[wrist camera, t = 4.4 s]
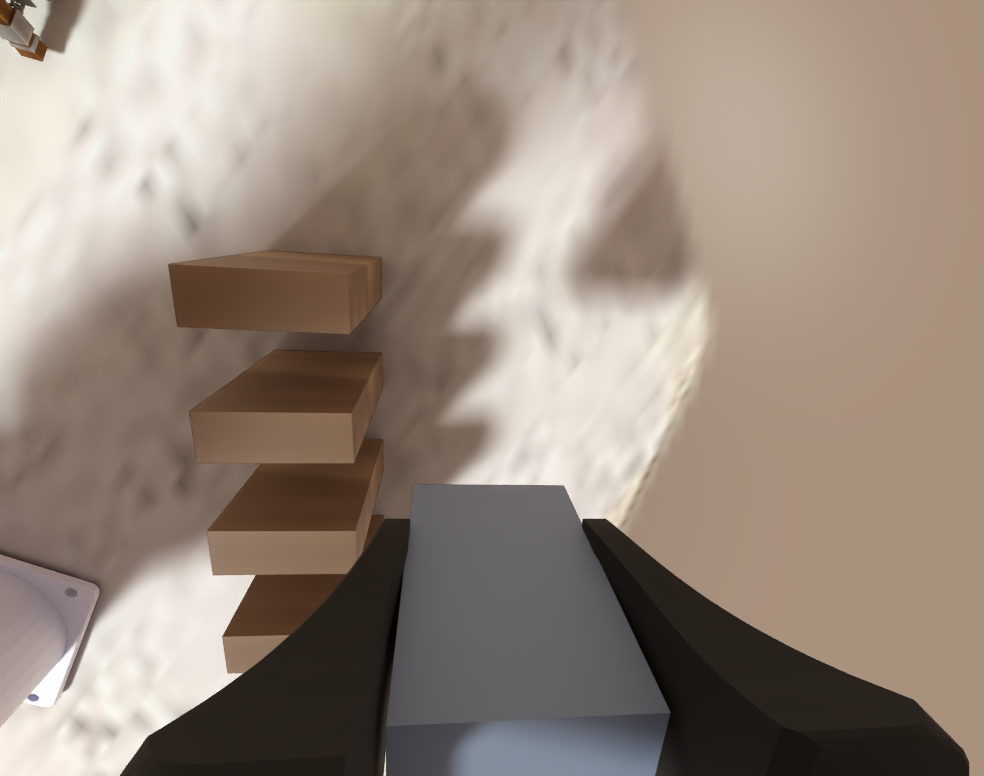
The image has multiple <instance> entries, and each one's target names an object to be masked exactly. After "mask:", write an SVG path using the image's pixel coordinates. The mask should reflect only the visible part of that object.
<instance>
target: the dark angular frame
mask: <svg viewBox="0 0 984 776" xmlns="http://www.w3.org/2000/svg"><path fill="white" fill-rule="evenodd" d="M10 1H11V3H7V2H6V0H0V37H1V38H2V39H5V40H8V41H9V43H10V45H11V46H12V47H15V48H16V49H17V51H18V52H19V53H20V54H21V56H25V57H28V58H32V59H35V60H39V61H42V62H43V59H44V56H45V53H46V50H47V48H48V47H47V46H46V45H45V44H44V43H43V42H42V41H41V40H40V37H39V36H38V35H36V34H34V33H33V30H34V28H33V27H32V25H31V24H30V23H29V22H28V21H27V20H26V19H25V17H24V16H23V10H24V8H25V5H27V6H31V7H35V8H37V7H36V6H35V5H34V3H33V2H32V1H31V0H15V1H16V2H17V3H20V4H21V5H19V4H17V3H15V2H14V0H10ZM48 1H51V2H54V3H55V1H56V0H48ZM12 6H13V7H14V8H13V7H12ZM18 7H19V8H18ZM19 11H20V12H19Z"/></svg>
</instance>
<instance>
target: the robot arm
mask: <svg viewBox="0 0 984 776" xmlns="http://www.w3.org/2000/svg"><path fill="white" fill-rule="evenodd" d="M410 521H411V519H385V520H384V521H383V522H382V523H381V524H380V526H379V528H378V530H377V531H376V533H375V535H374V536H373V538H372V540H371V541H370V543H369V544H368V546H367V547H366V549H365V550H364V552H363V553H362V554H361V556H360V557H359V558H358V560H357V561H356V562H355V564H354V565H353V566H352V568H351V569H350V570H349V572H348V573H347V574H346V576H345V577H344V578H343V579H342V580H341V581H340V583H339V584H338V585H337V586H336V587H335V589H334V590H333V591H332V592H331V593H330V594H329V596H328V597H327V598H326V599H325V600H324V601H323V602H322V603H321V604H320V606H319V607H318V608H317V609H316V610H315V611H314V612H313V613H312V614H311V615H310V616H309V617H308V618H307V619H306V620H305V621H304V622H303V623H302V624H301V625H300V626H299V627H298V628H297V629H296V630H295V631H294V632H292V633H291V634H290V635H289V636H288V637H287V638H286V639H285V640H283V641H282V642H281V643H280V644H279V645H278V646H277V647H276V648H275V649H273V650H272V651H271V652H270V653H269V654H267V655H266V656H265V657H264V658H263V659H261V660H260V661H259V662H258V663H257V664H255V665H254V666H253V667H251V668H250V669H249V670H247V671H246V672H245V673H243V674H242V675H241V676H239V677H238V678H237V679H235V680H234V681H233V682H231V683H230V684H229V685H227V686H226V687H224V688H223V689H222V690H220V691H219V692H217V693H216V694H214V695H213V696H211V697H210V698H208V699H207V700H205V701H204V702H202V703H201V704H199V705H198V706H196V707H194V708H193V709H191V710H190V711H188V712H187V713H185V714H183V715H182V716H180V717H179V718H177V719H175V720H174V721H172V722H171V723H169V724H167V725H166V726H164V727H163V728H161V729H159V730H158V731H156V732H154V733H153V734H151V735H149V736H148V737H147V738H146V739H145V741H144V742H143V744H142V745H141V747H140V748H139V750H138V751H137V753H136V754H135V755H134V757H133V758H132V759H131V761H130V762H129V763H128V765H127V766H126V767H125V769H124V770H123V772H122V773H121V775H120V776H383V773H384V763H385V753H386V722H387V713H388V705H389V696H390V687H391V678H392V670H393V661H394V652H395V644H396V635H397V626H398V617H399V609H400V600H401V591H402V582H403V574H404V565H405V561H406V557H407V553H408V544H409V535H410ZM582 528H583V530H584V533H585V535H586V537H587V539H588V541H589V543H590V546H591V548H592V550H593V552H594V554H595V555H596V557H597V559H598V560H599V562H600V564H601V566H602V568H603V570H604V572H605V574H606V576H607V578H608V581H609V583H610V585H611V587H612V589H613V591H614V593H615V596H616V598H617V600H618V602H619V604H620V606H621V608H622V610H623V613H624V615H625V617H626V619H627V621H628V623H629V625H630V627H631V630H632V632H633V634H634V636H635V638H636V640H637V642H638V644H639V647H640V649H641V651H642V653H643V655H644V657H645V659H646V661H647V664H648V666H649V668H650V670H651V672H652V674H653V676H654V679H655V681H656V683H657V685H658V687H659V689H660V691H661V693H662V696H663V698H664V700H665V702H666V704H667V706H668V708H669V710H670V717H669V721H668V725H667V729H666V733H665V737H664V741H663V745H662V749H661V753H660V757H659V761H658V765H657V769H656V773H655V776H969V761H968V759H967V757H966V754H965V752H964V750H963V749H962V748H961V747H960V746H959V745H958V744H957V743H956V742H955V741H954V740H953V739H952V738H951V737H950V736H949V735H948V734H947V733H946V732H945V731H944V730H943V729H942V728H941V727H940V726H939V725H938V724H937V723H936V722H935V721H934V720H933V719H932V718H931V717H930V716H929V715H928V714H927V713H926V712H925V711H924V709H923V708H921V706H920V705H919V704H918V703H917V702H916V701H914V700H913V699H911V698H908V697H905V696H903V695H900V694H898V693H895V692H893V691H890V690H888V689H885V688H883V687H880V686H877V685H875V684H872V683H870V682H867V681H865V680H862V679H860V678H857V677H855V676H852V675H850V674H847V673H845V672H843V671H840V670H838V669H836V668H834V667H831V666H829V665H827V664H825V663H823V662H820V661H818V660H816V659H814V658H812V657H810V656H807V655H806V654H804V653H802V652H799V651H797V650H795V649H793V648H791V647H789V646H787V645H785V644H784V643H782V642H780V641H778V640H776V639H774V638H772V637H771V636H768V635H767V634H765V633H763V632H761V631H759V630H758V629H756V628H754V627H752V626H750V625H749V624H747V623H745V622H744V621H742V620H740V619H739V618H737V617H735V616H734V615H732V614H730V613H729V612H727V611H726V610H724V609H723V608H721V607H719V606H718V605H716V604H715V603H713V602H712V601H710V600H709V599H707V598H705V597H704V596H703V595H701V594H700V593H698V592H697V591H696V590H694V589H693V588H692V587H690V586H688V585H687V584H686V583H685V582H683V581H682V580H681V579H679V578H678V577H676V576H675V575H674V574H673V573H671V572H670V571H669V570H667V569H666V568H665V567H664V566H662V565H661V564H660V563H659V562H657V561H656V560H655V559H653V558H652V557H651V556H650V555H649V554H647V553H646V552H645V551H644V550H643V549H642V548H640V547H639V546H638V545H637V544H636V543H634V542H633V541H632V540H631V539H630V538H628V537H627V536H626V535H625V534H624V533H623V532H621V531H620V530H619V529H618V528H617V527H615V526H614V525H613V524H612V523H610V522H609V521H608V520H606V519H583V522H582ZM72 588H73V589H75V590H76V591H75V590H73V589H72ZM99 593H100V591H99V588H98V587H97V586H96V585H95V584H93V583H90V582H87V581H84V580H81V579H78V578H74V577H71V576H68V575H65V574H62V573H58V572H55V571H52V570H49V569H45V568H42V567H39V566H36V565H33V564H29V563H26V562H23V561H20V560H17V559H13V558H10V557H7V556H4V555H0V727H1V726H2V725H3V724H4V723H5V722H6V721H7V720H8V718H9V717H10V716H11V715H12V714H13V713H14V712H15V710H16V709H17V708H18V707H19V706H20V705H21V704H22V703H23V702H25V703H29V704H33V705H37V706H41V707H50V706H53V705H54V704H55V703H56V702H57V701H58V699H59V698H60V697H61V694H62V691H63V689H64V686H65V684H66V681H67V678H68V676H69V673H70V670H71V668H72V665H73V662H74V660H75V657H76V655H77V652H78V649H79V647H80V644H81V641H82V639H83V636H84V633H85V631H86V628H87V625H88V623H89V620H90V618H91V615H92V612H93V610H94V607H95V604H96V602H97V599H98V596H99Z"/></svg>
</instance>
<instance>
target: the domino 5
mask: <svg viewBox="0 0 984 776" xmlns="http://www.w3.org/2000/svg"><path fill="white" fill-rule="evenodd" d="M410 519H411V521H410V535H409V544H408V553H407V557H406V561H405V565H404V574H403V582H402V591H401V600H400V609H399V617H398V626H397V635H396V644H395V652H394V661H393V670H392V678H391V687H390V696H389V705H388V713H387V722H386V776H655V773H656V769H657V765H658V761H659V757H660V753H661V749H662V745H663V741H664V737H665V733H666V729H667V725H668V721H669V717H670V710H669V708H668V706H667V704H666V702H665V700H664V698H663V696H662V693H661V691H660V689H659V687H658V685H657V683H656V681H655V679H654V676H653V674H652V672H651V670H650V668H649V666H648V664H647V661H646V659H645V657H644V655H643V653H642V651H641V649H640V647H639V644H638V642H637V640H636V638H635V636H634V634H633V632H632V630H631V627H630V625H629V623H628V621H627V619H626V617H625V615H624V613H623V610H622V608H621V606H620V604H619V602H618V600H617V598H616V596H615V593H614V591H613V589H612V587H611V585H610V583H609V581H608V578H607V576H606V574H605V572H604V570H603V568H602V566H601V564H600V562H599V560H598V559H597V557H596V555H595V554H594V552H593V550H592V548H591V546H590V543H589V541H588V539H587V537H586V535H585V533H584V530H583V528H582V523H581V521H580V519H579V517H578V515H577V513H576V510H575V508H574V506H573V504H572V502H571V500H570V498H569V495H568V493H567V491H566V489H565V487H564V486H560V485H447V484H414V487H413V495H412V504H411V513H410Z"/></svg>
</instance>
